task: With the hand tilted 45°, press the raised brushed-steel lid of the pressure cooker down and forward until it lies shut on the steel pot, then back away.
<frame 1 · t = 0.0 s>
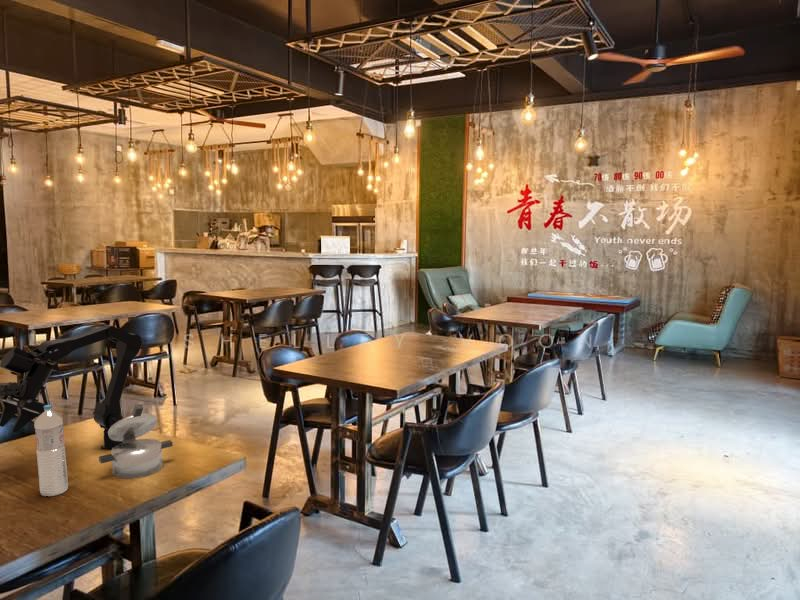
hand: (7, 429, 168), 15 cm above the table, tool tilted 35°, fingers open, 9 cm apart
cooker lid: (134, 422, 175), point 14 cm above the table, hinge at 45.0°
cooker pot: (138, 468, 176), on the table
water bottle: (54, 492, 160), on the table
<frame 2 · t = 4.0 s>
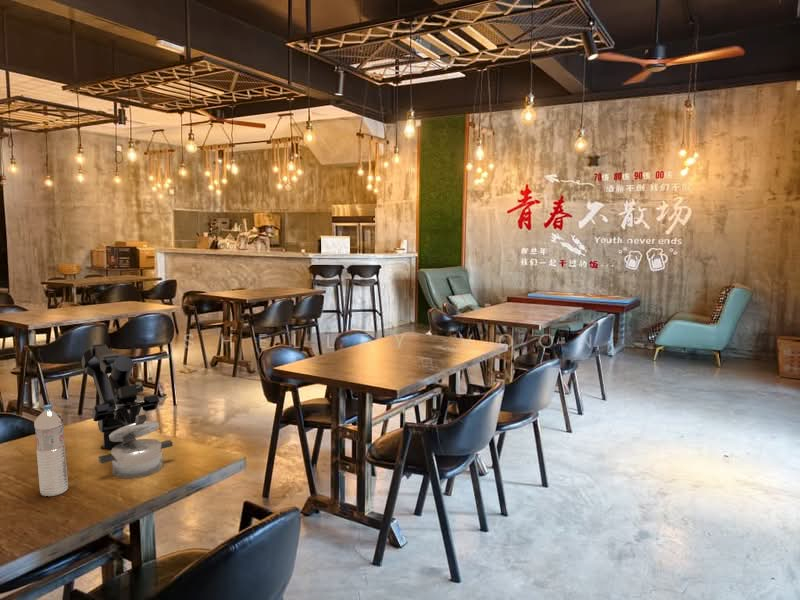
hand: (133, 430, 176), 11 cm above the table, tool tilted 45°, fingers closed, pressing on cooker lid
cooker lid: (135, 427, 174), point 13 cm above the table, hinge at 33.5°, touching gripper
everything else where it was.
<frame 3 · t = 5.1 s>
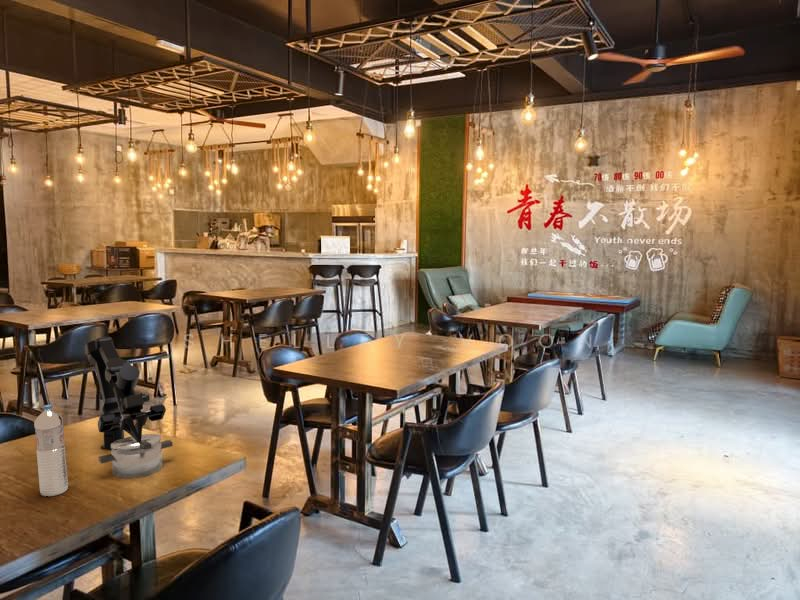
hand: (139, 441, 172), 10 cm above the table, tool tilted 45°, fingers closed, pressing on cooker lid
cooker lid: (138, 442, 173), point 9 cm above the table, hinge at 6.4°, touching gripper
everything else where it was.
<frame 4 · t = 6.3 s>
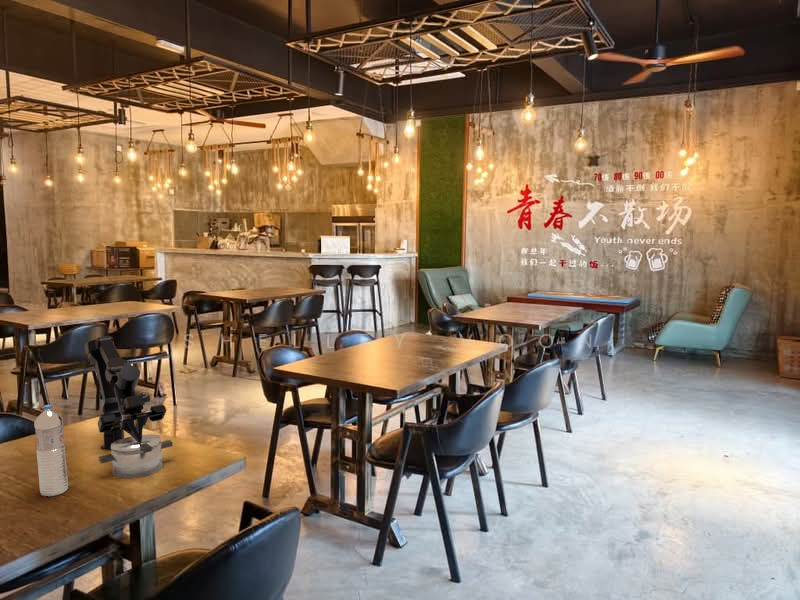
hand: (140, 441, 172), 10 cm above the table, tool tilted 45°, fingers closed
cooker lid: (138, 443, 173), point 9 cm above the table, hinge at 3.7°
everything else where it was.
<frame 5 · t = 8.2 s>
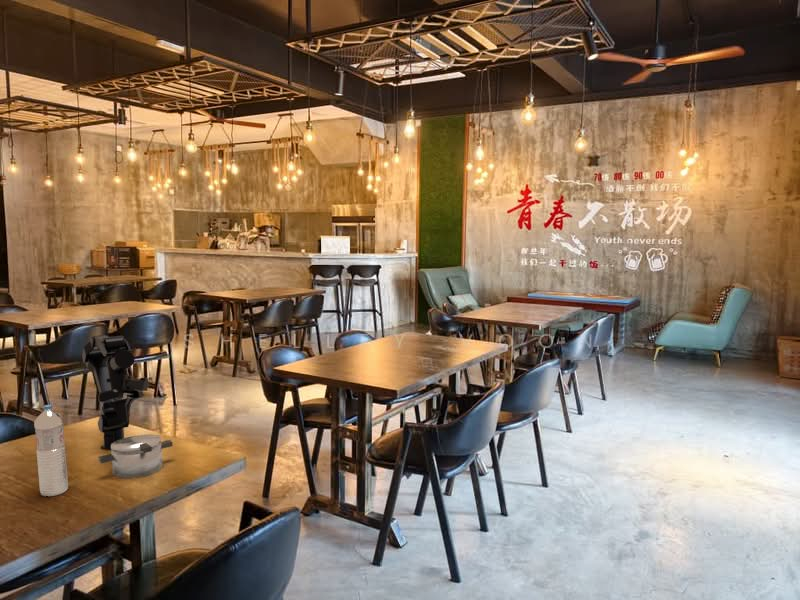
hand: (125, 421, 182), 12 cm above the table, tool tilted 20°, fingers closed
nothing on the table moved.
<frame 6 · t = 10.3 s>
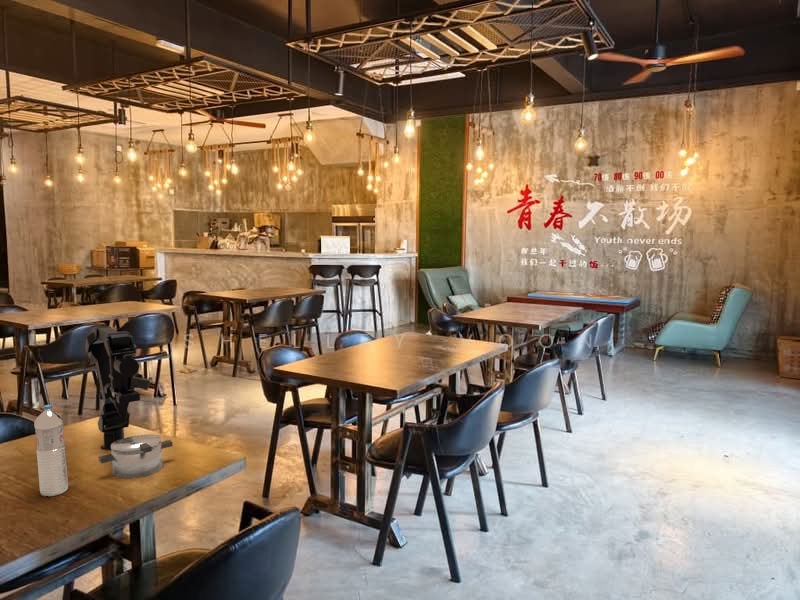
hand: (123, 418, 184), 13 cm above the table, tool pointing down, fingers closed
nothing on the table moved.
at the end: cooker lid at +4° (first picture: +45°); water bottle moved 0.2 cm from its start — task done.
